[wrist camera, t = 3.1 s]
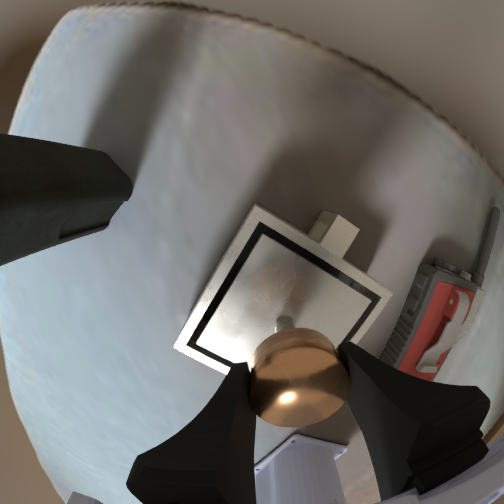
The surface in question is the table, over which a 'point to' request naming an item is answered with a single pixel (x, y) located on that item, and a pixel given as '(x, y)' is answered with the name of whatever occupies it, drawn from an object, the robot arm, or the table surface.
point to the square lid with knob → (286, 333)
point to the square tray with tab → (317, 242)
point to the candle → (54, 194)
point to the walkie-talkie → (437, 313)
